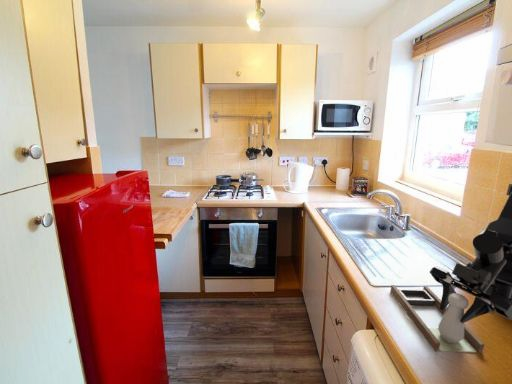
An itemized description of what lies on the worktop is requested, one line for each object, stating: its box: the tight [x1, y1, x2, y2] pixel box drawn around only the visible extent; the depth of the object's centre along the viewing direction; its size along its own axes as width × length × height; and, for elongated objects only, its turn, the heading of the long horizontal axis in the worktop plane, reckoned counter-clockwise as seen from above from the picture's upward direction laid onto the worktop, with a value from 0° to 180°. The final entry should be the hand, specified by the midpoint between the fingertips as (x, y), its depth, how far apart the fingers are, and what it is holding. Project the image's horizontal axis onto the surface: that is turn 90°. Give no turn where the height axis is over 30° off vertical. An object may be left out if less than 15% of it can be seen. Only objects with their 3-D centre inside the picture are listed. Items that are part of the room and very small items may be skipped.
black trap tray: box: [397, 288, 435, 307], centre depth 92 cm, size 9×6×2 cm, turn 88°
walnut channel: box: [390, 284, 485, 354], centre depth 84 cm, size 12×26×2 cm, turn 178°
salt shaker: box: [438, 292, 469, 344], centre depth 74 cm, size 6×6×13 cm
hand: (450, 315), depth 73 cm, fingers open, 5 cm apart
